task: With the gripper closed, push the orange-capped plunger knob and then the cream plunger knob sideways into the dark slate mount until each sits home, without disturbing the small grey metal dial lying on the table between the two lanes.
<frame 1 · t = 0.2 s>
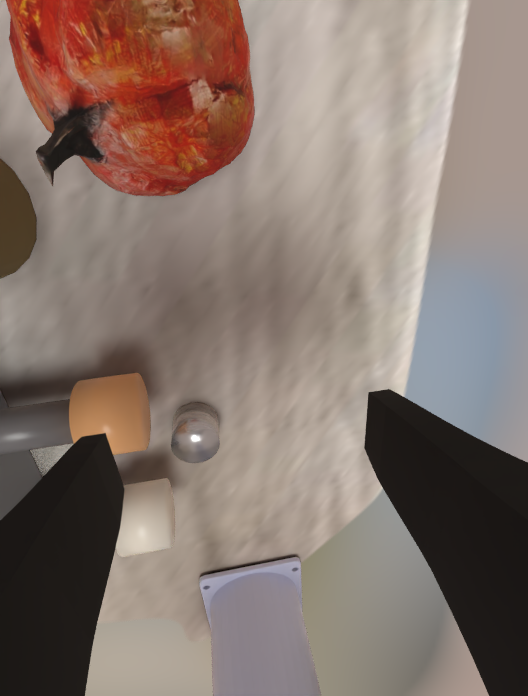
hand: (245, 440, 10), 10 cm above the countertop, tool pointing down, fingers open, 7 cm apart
pomegranate: (158, 84, 15), on the countertop
cream knob: (80, 527, 20), point 3 cm above the countertop, slide at 0.0 cm
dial: (195, 419, 22), on the countertop
orange knob: (34, 426, 17), point 3 cm above the countertop, slide at 0.0 cm
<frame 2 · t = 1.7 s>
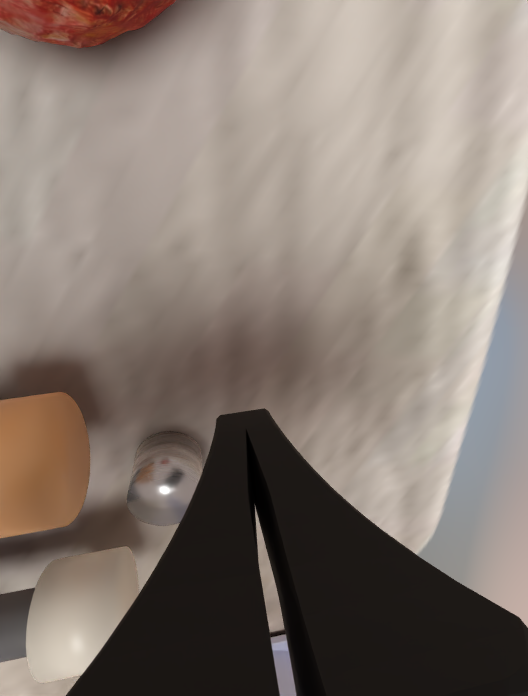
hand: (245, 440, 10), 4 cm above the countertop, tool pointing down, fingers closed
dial: (169, 456, 15), on the countertop
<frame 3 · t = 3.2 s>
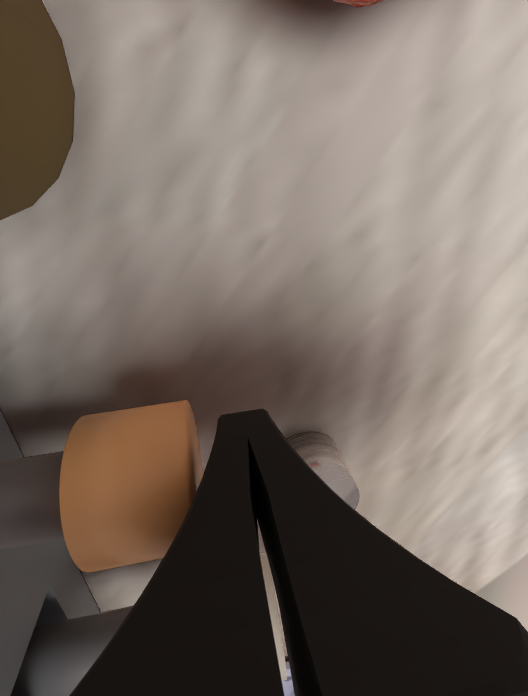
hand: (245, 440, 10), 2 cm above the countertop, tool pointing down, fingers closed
cream knob: (135, 641, 12), point 3 cm above the countertop, slide at 0.0 cm
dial: (305, 458, 14), on the countertop
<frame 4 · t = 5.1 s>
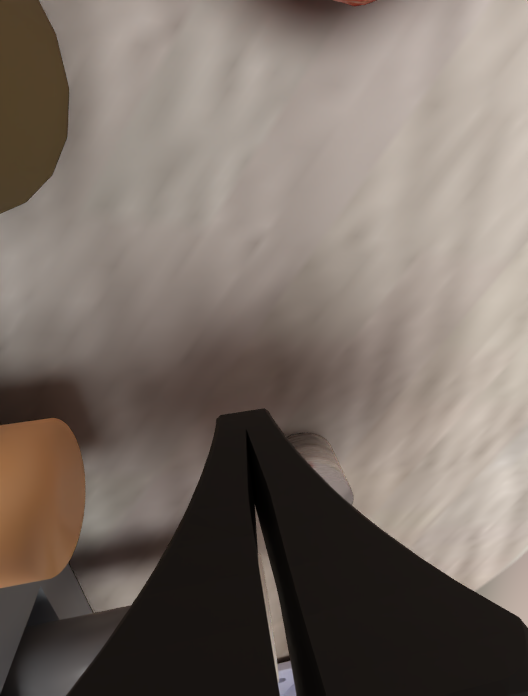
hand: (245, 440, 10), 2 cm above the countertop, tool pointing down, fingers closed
cream knob: (126, 642, 12), point 3 cm above the countertop, slide at 0.0 cm
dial: (299, 459, 14), on the countertop
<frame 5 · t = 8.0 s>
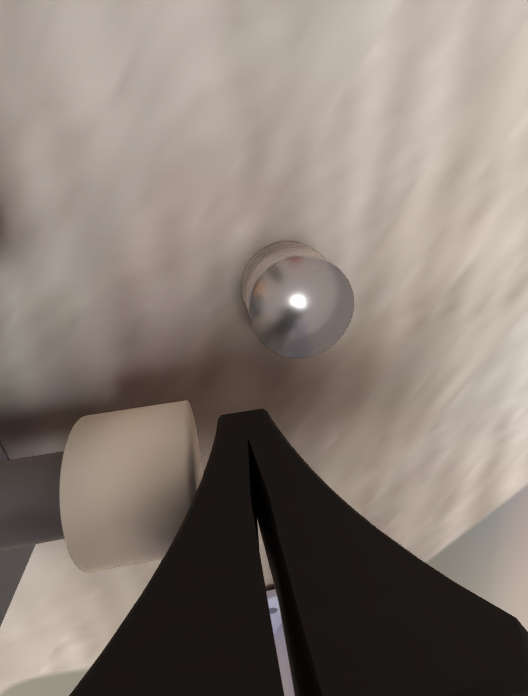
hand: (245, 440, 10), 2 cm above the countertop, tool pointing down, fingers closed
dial: (284, 285, 11), on the countertop
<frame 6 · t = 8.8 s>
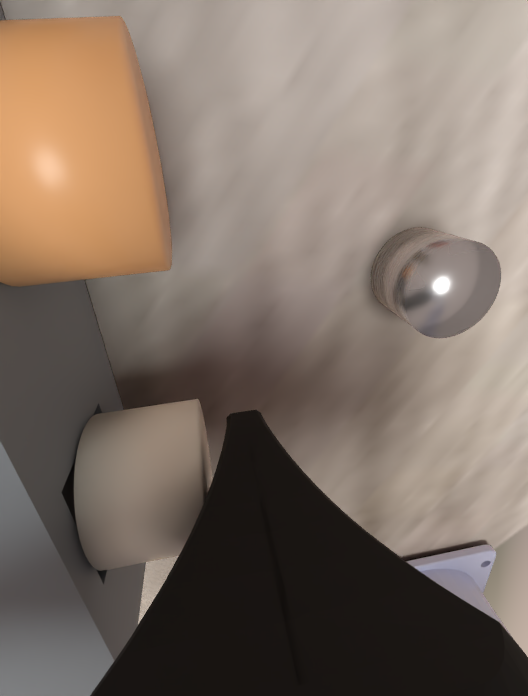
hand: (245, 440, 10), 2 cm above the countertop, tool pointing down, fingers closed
cream knob: (8, 503, 9), point 3 cm above the countertop, slide at 4.9 cm, touching gripper
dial: (410, 270, 11), on the countertop
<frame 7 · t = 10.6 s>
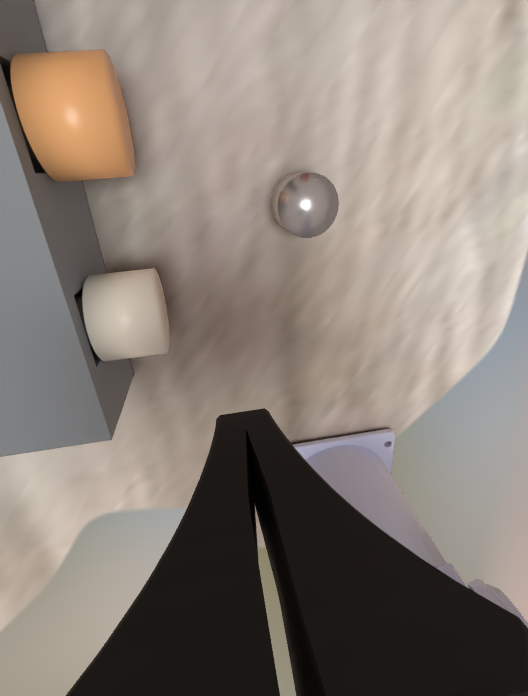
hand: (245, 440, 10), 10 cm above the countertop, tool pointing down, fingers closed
mount: (28, 228, 16), on the countertop
cream knob: (43, 325, 15), point 3 cm above the countertop, slide at 4.8 cm
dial: (297, 202, 18), on the countertop
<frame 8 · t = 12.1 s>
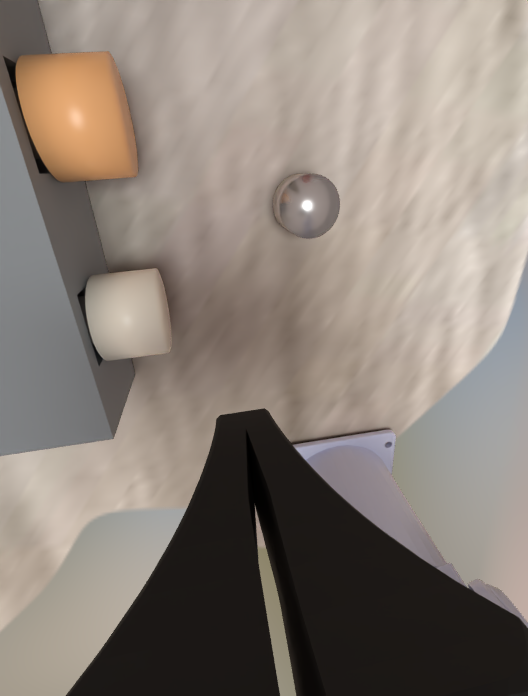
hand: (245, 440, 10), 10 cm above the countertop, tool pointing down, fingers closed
mount: (31, 228, 16), on the countertop
cream knob: (46, 324, 15), point 3 cm above the countertop, slide at 4.8 cm
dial: (298, 203, 18), on the countertop
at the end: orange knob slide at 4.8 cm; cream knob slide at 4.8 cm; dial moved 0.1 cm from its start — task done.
